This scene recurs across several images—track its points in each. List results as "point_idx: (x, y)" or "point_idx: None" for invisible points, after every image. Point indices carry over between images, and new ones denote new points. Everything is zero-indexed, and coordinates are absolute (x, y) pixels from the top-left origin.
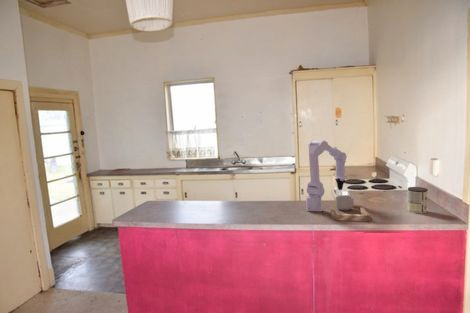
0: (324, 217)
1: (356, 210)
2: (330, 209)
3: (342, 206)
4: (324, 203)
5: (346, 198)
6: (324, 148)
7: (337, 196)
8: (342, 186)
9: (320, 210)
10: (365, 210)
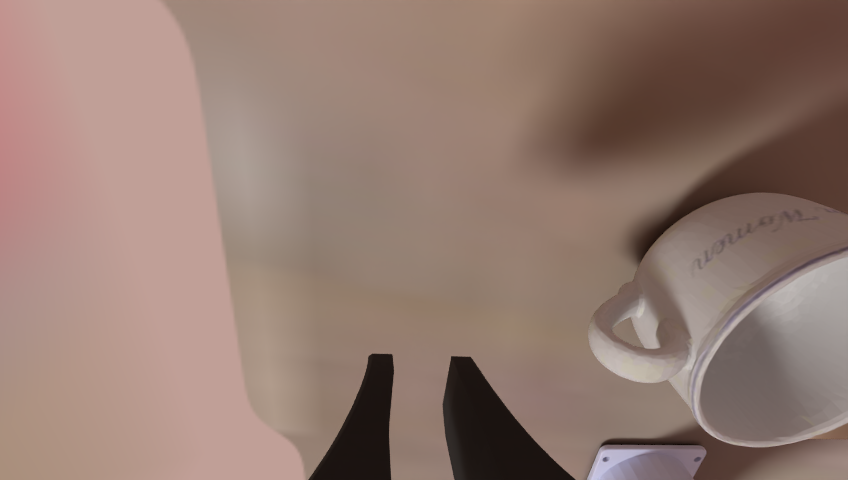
0: (843, 446)
1: (784, 147)
2: (826, 436)
3: (801, 332)
4: (421, 400)
5: (716, 287)
6: None
7: (706, 420)
8: (508, 413)
9: (694, 462)
10: None
